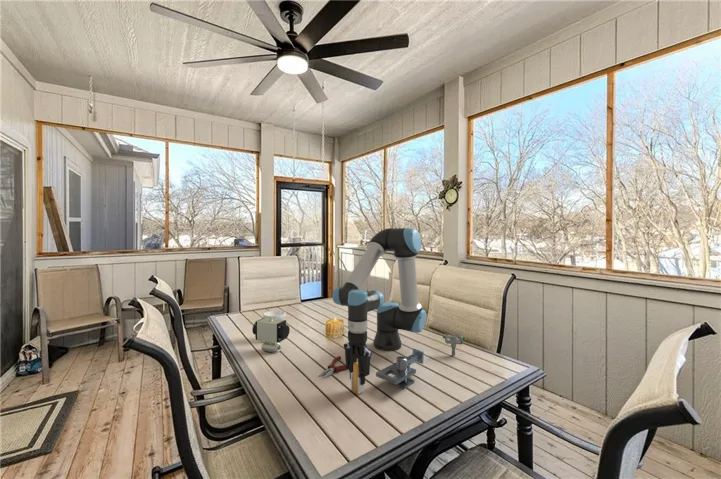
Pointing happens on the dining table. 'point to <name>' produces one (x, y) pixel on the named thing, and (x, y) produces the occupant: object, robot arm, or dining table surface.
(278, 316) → the cup
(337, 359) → the pliers
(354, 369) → the orange rounded rod
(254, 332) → the ball valve
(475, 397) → the dining table surface
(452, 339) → the mechanical component
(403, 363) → the grey toggle clamp
